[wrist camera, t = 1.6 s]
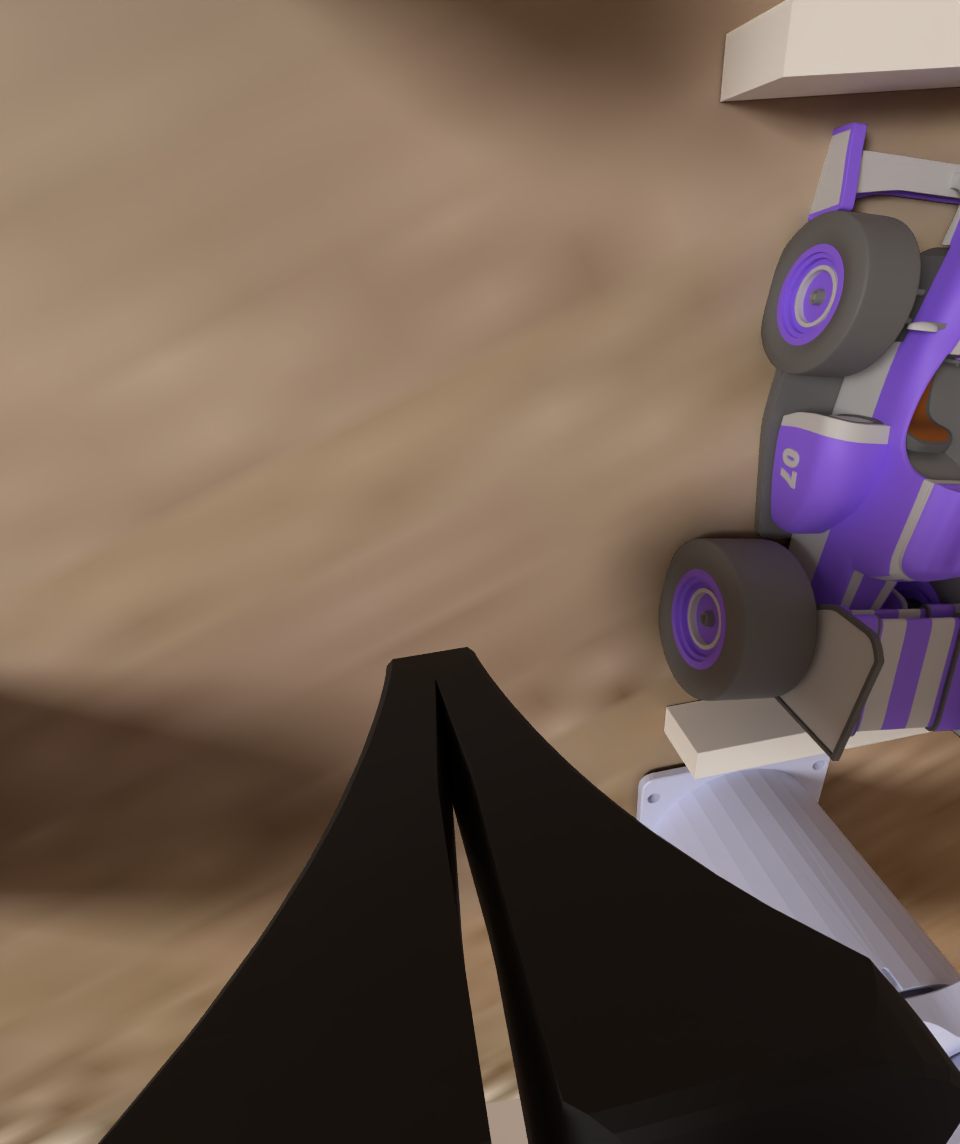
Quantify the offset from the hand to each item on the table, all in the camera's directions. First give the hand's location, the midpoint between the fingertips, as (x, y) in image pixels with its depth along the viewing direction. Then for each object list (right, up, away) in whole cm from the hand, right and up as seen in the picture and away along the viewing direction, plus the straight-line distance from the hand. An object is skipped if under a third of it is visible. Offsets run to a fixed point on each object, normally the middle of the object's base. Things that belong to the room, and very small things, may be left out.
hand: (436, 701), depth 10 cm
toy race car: (+12, +6, +9) cm, 16 cm away
